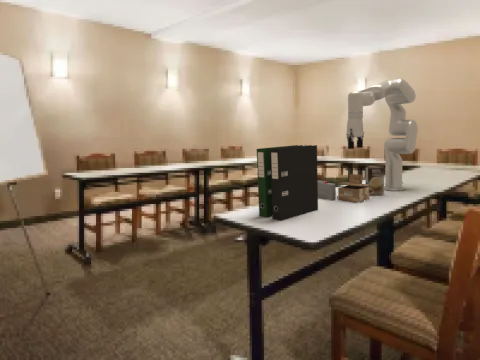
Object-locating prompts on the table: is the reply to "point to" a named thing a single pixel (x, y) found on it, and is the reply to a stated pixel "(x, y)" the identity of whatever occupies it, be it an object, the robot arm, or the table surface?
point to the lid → (354, 184)
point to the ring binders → (287, 181)
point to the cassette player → (326, 190)
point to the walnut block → (355, 179)
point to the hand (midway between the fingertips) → (355, 148)
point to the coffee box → (375, 180)
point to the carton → (353, 193)
